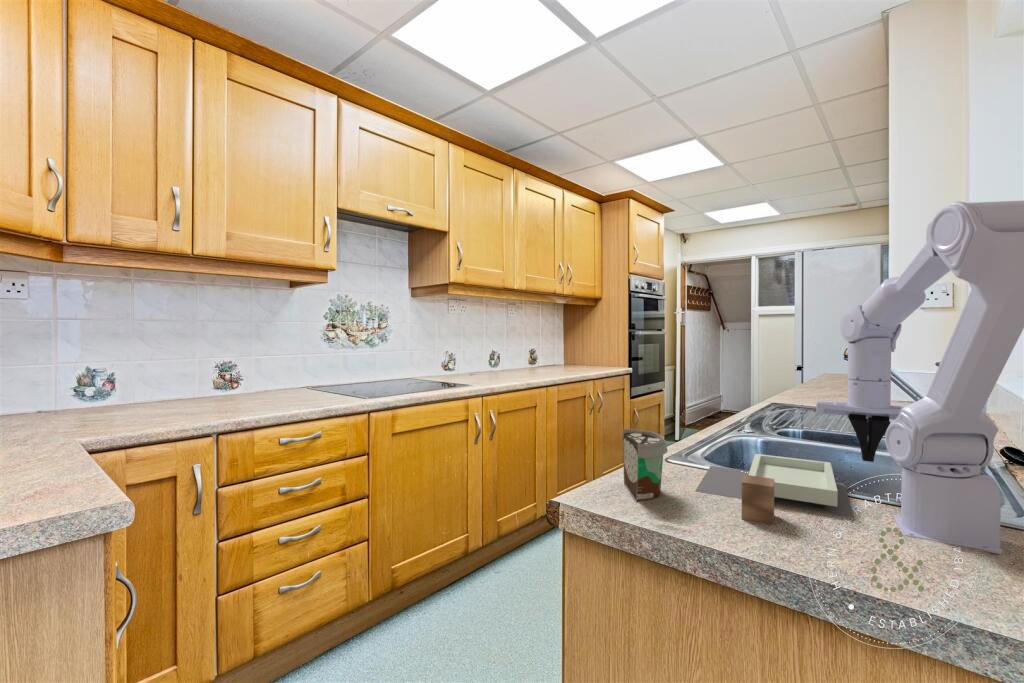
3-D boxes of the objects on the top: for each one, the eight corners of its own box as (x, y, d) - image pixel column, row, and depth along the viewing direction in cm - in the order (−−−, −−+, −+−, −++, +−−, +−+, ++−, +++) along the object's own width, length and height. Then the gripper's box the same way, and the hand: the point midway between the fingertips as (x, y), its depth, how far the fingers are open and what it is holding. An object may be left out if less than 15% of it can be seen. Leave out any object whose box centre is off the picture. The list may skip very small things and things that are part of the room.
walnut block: (774, 518, 69) (774, 478, 69) (772, 528, 65) (773, 486, 65) (744, 513, 71) (744, 474, 71) (741, 522, 68) (741, 482, 67)
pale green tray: (830, 481, 83) (830, 462, 83) (837, 514, 69) (837, 491, 69) (755, 471, 90) (755, 453, 89) (747, 499, 75) (747, 478, 75)
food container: (678, 507, 73) (678, 445, 73) (639, 507, 74) (638, 445, 73) (655, 481, 86) (655, 428, 86) (622, 481, 86) (622, 428, 86)
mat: (843, 486, 82) (844, 483, 82) (853, 520, 68) (853, 517, 68) (710, 467, 94) (710, 465, 94) (695, 493, 79) (695, 491, 79)
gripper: (920, 379, 77) (918, 460, 77) (816, 375, 84) (815, 448, 85) (930, 383, 71) (929, 471, 71) (817, 379, 78) (816, 458, 79)
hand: (867, 460), depth 78 cm, fingers closed
